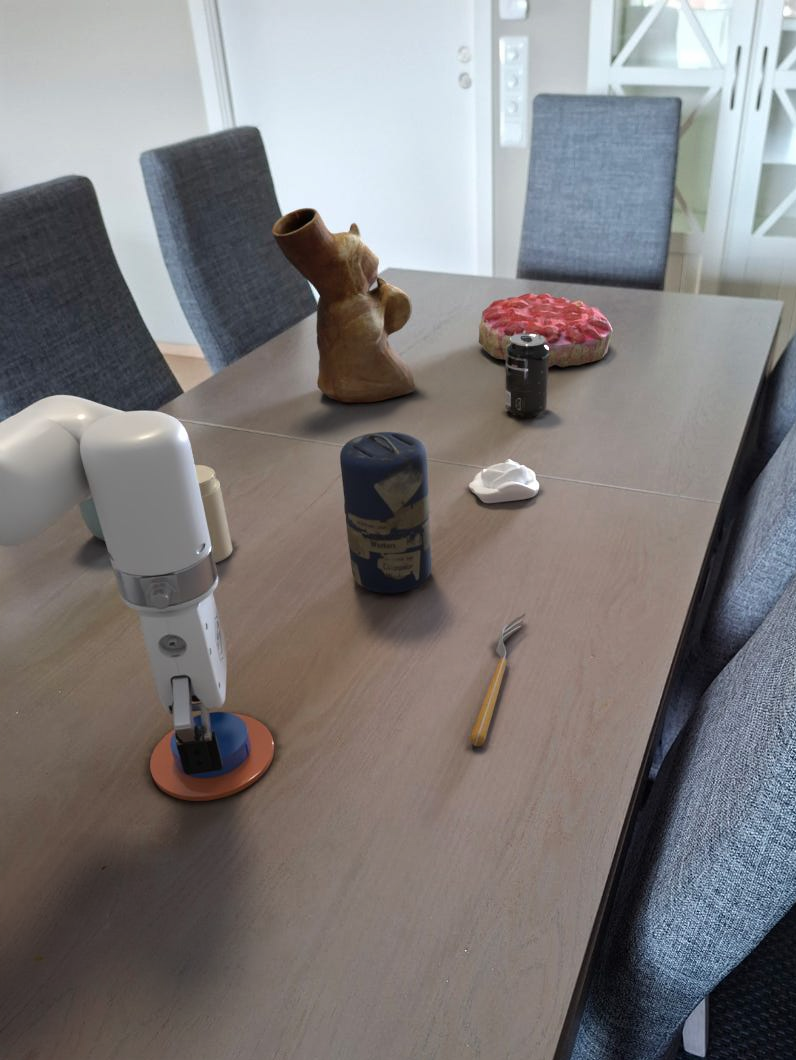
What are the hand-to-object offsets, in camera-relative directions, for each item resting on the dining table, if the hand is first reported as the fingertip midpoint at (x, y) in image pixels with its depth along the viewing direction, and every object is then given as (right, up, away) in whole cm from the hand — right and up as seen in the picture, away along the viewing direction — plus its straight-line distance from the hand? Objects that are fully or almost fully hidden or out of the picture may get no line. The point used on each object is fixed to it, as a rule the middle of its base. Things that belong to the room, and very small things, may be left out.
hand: (206, 732), depth 81 cm
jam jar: (-10, +19, +32) cm, 38 cm away
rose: (+28, +29, +44) cm, 60 cm away
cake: (+37, +64, +93) cm, 119 cm away
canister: (+14, +15, +26) cm, 34 cm away
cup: (-22, +22, +35) cm, 47 cm away
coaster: (0, -2, +2) cm, 3 cm away
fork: (+26, +4, +10) cm, 29 cm away
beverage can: (+32, +45, +67) cm, 87 cm away
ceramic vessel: (+3, +50, +74) cm, 89 cm away
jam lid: (0, -1, +1) cm, 1 cm away
